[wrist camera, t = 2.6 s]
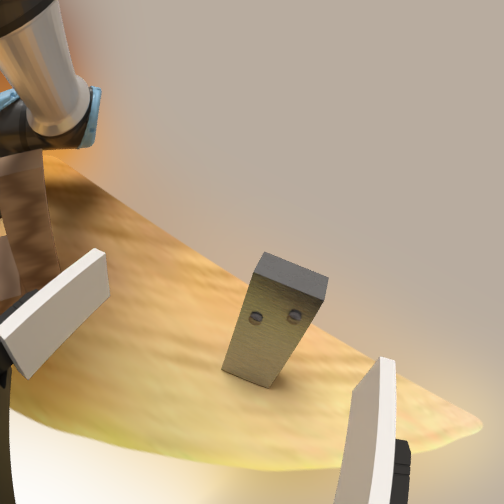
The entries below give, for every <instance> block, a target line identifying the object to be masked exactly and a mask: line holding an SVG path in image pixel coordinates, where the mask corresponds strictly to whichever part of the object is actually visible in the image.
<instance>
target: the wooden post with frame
mask: <svg viewBox="0 0 504 504" xmlns="http://www.w3.org/2000/svg"><path fill="white" fill-rule="evenodd" d="M0 210H1V215H2V219H3V223H4V227H5V230H6V234H7V235H6V236H2V237H0V315H1V314H3V313H4V312H5V311H6V310H7V309H8V308H9V307H11V306H13V304H14V303H15V302H16V301H19V299H20V298H21V297H22V296H24V295H25V294H26V293H28V292H30V291H32V290H35V289H37V290H39V291H40V290H41V289H42V288H43V287H44V286H46V285H47V284H48V283H49V282H51V281H52V280H53V279H54V278H56V277H57V276H58V275H59V274H61V272H60V267H59V262H58V257H57V253H56V248H55V243H54V238H53V233H52V228H51V222H50V216H49V210H48V203H47V196H46V188H45V179H44V169H43V156H42V148H41V149H37V150H32V151H27V152H23V153H18V154H14V155H10V156H6V157H2V158H0Z"/></svg>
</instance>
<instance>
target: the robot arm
mask: <svg viewBox="0 0 504 504" xmlns="http://www.w3.org/2000/svg"><path fill="white" fill-rule="evenodd" d="M0 70H1V71H2V73H3V74H4V76H5V77H6V79H7V80H8V81H9V83H10V84H11V86H12V87H13V89H10V90H7V91H4V92H2V93H0V158H2V157H6V156H10V155H14V154H18V153H23V152H27V151H32V150H37V149H41V148H42V150H56V149H80V148H87V147H90V146H92V144H93V143H94V140H95V135H96V126H97V119H98V112H99V106H100V99H101V89H100V88H99V87H94V86H90V87H88V85H87V84H86V82H85V81H84V80H83V79H82V78H81V77H79V76H78V75H75V71H74V68H73V64H72V60H71V57H70V52H69V48H68V44H67V41H66V36H65V31H64V26H63V22H62V17H61V12H60V7H59V1H58V0H0ZM0 217H2V215H1V210H0ZM108 297H110V290H109V282H108V273H107V263H106V253H104V252H102V251H100V250H98V249H96V248H94V249H92V250H91V251H90V252H88V253H87V254H86V255H84V256H83V257H82V258H80V259H79V260H78V261H76V262H75V263H74V264H72V265H71V266H70V267H68V268H67V269H66V270H65V271H63V272H62V273H61V274H59V275H58V276H57V277H56V278H54V279H53V280H52V281H51V282H49V283H48V284H47V285H46V286H44V287H43V288H42V289H41V290H40V291H39V290H37V289H35V290H32V291H30V292H28V293H26V294H25V295H24V296H22V297H21V298H20V299H19V301H16V302H15V303H14V304H13V306H11V307H9V308H8V309H7V310H6V311H5V312H4V313H3V314H1V315H0V504H16V503H15V497H14V490H13V482H12V474H11V461H10V446H9V445H10V444H9V406H10V387H11V375H12V368H11V365H12V364H14V365H15V367H16V368H17V370H18V371H19V372H20V373H21V374H22V375H23V376H24V377H25V378H26V379H27V380H29V379H30V378H31V377H32V375H33V374H34V373H35V372H36V371H37V370H38V369H39V368H40V367H41V366H42V364H43V363H44V362H45V361H46V360H47V359H48V358H49V357H50V356H51V355H52V354H53V353H54V352H55V351H56V350H57V349H58V347H59V346H60V345H61V344H62V343H63V342H64V341H65V340H66V339H67V338H68V337H69V336H70V335H71V334H72V333H73V332H74V331H75V330H76V329H77V328H78V327H79V326H80V325H81V324H82V323H83V322H84V321H85V320H86V319H87V318H88V317H89V316H90V315H91V314H92V313H93V312H94V311H95V310H96V309H97V308H98V307H99V306H100V305H101V304H102V303H103V302H104V301H105V300H106V299H107V298H108ZM395 435H396V368H395V361H394V360H390V359H388V358H384V357H379V358H378V360H377V361H376V362H375V364H374V365H373V366H372V367H371V369H370V370H369V371H368V373H367V374H366V375H365V376H364V378H363V379H362V380H361V381H360V382H359V384H358V385H357V386H356V387H355V388H354V390H353V391H352V398H351V407H350V415H349V422H348V429H347V436H346V442H345V448H344V454H343V460H342V465H341V470H340V476H339V481H338V486H337V490H336V494H335V499H334V503H333V504H407V502H408V492H409V480H410V477H409V475H410V464H411V451H410V448H409V445H408V442H407V441H405V440H399V439H395Z"/></svg>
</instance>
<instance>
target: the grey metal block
mask: <svg viewBox="0 0 504 504" xmlns="http://www.w3.org/2000/svg"><path fill="white" fill-rule="evenodd" d="M327 284H328V277H326V276H323V275H321V274H319V273H316V272H314V271H311V270H309V269H306V268H304V267H301V266H299V265H296V264H294V263H291V262H289V261H286V260H284V259H281V258H279V257H276V256H274V255H272V254H269V253H266V252H264V253H263V255H262V257H261V259H260V261H259V263H258V265H257V266H256V268H255V270H254V272H253V275H252V278H251V281H250V284H249V287H248V290H247V293H246V296H245V299H244V302H243V305H242V308H241V312H240V315H239V318H238V321H237V324H236V327H235V330H234V333H233V336H232V339H231V342H230V345H229V348H228V351H227V354H226V357H225V360H224V363H223V366H222V370H224V371H226V372H229V373H231V374H233V375H236V376H238V377H241V378H243V379H245V380H248V381H250V382H253V383H255V384H258V385H260V386H263V387H266V388H268V389H269V387H270V386H271V384H272V383H273V381H274V380H275V378H276V377H277V375H278V374H279V372H280V371H281V369H282V368H283V366H284V365H285V363H286V362H287V360H288V359H289V357H290V356H291V354H292V352H293V351H294V349H295V348H296V346H297V345H298V343H299V341H300V340H301V338H302V337H303V335H304V333H305V332H306V330H307V328H308V327H309V325H310V324H311V322H312V320H313V319H314V317H315V315H316V313H317V312H318V310H319V308H320V307H321V305H322V303H323V302H324V299H325V294H326V289H327Z"/></svg>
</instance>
